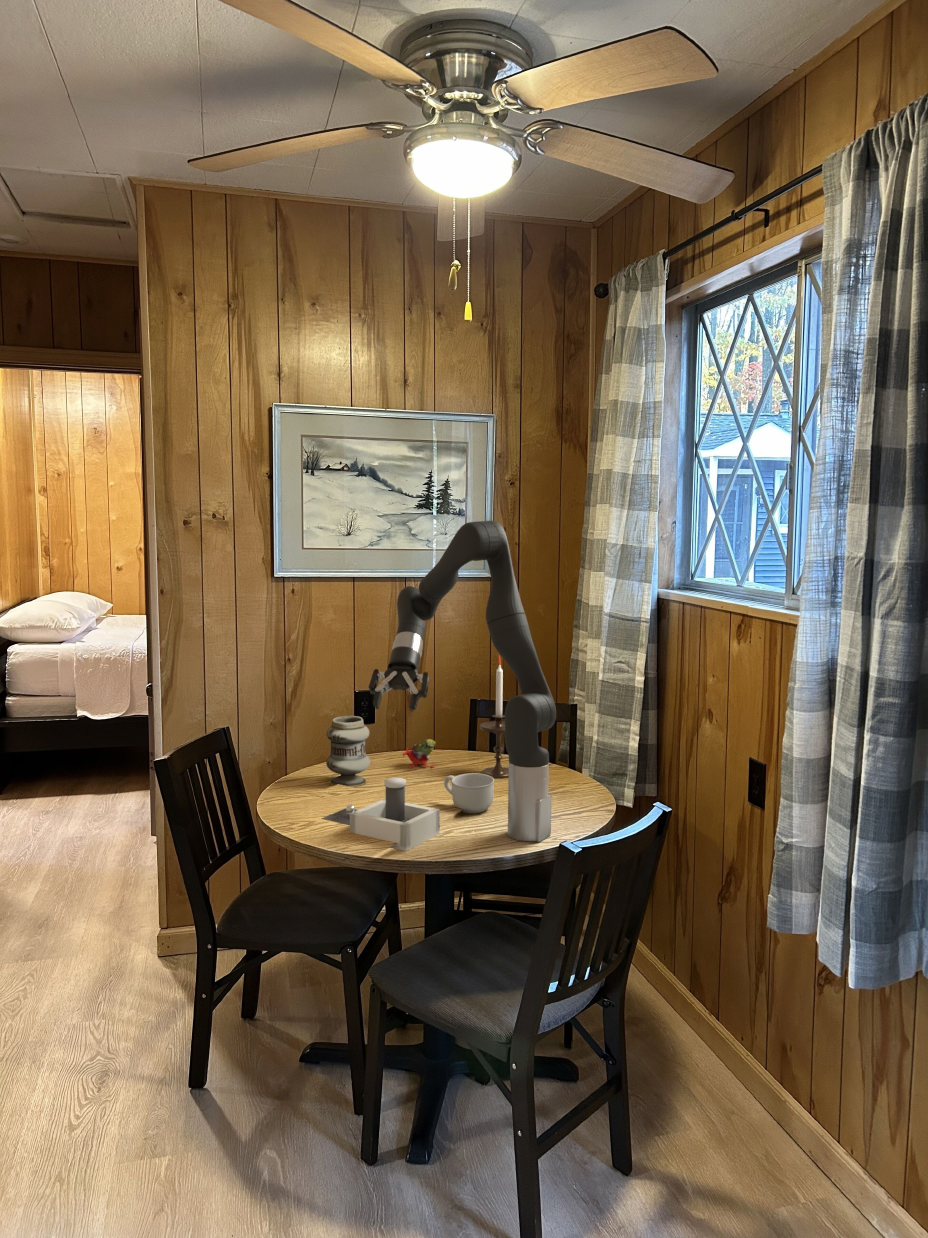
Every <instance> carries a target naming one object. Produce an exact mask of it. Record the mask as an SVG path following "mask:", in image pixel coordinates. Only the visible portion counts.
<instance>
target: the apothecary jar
mask: <svg viewBox="0 0 928 1238" xmlns="http://www.w3.org/2000/svg"><path fill="white" fill-rule="evenodd" d="M331 722H332V723H331V725H330V727H329V728H327V730H326V737H327V739H328V740H330V755H329V756H328V757H327V759H326V762H325V763H326V767H327V768H328V770H330V771H331V772H333V773H335V774H338V776H335V777H333V778H332V779H330V782H329V783H330V784H331V785H332V786H337V785H339V786H345V787H350V788H356V787H360V786H364V785H365V784H366V783H367V780H366V779H365V778H364V777H362V776H360V775H358V774H360V773H363V772H365V771H366V770H367V769H368V768H369V766H371V765H370V764H371V760H370V756H368V755H367V754H366V753H367V752H366V739H368V738H369V736H370V729H369V727H368V726H366V725H365V723H364V718H363V717H361V716H358V715H357V716H356V715H344V716H337V717H335V718H333V719H332V721H331Z"/></svg>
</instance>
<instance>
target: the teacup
mask: <svg viewBox="0 0 928 1238" xmlns="http://www.w3.org/2000/svg"><path fill="white" fill-rule="evenodd" d="M449 781H451V785H450V782H449ZM443 783H444V788H445V789H446V791H447V792H448V793H449V794H450V795H451V796H452V802H453V805H455V807H456V808H458V809H462V810H461V811H462V813H467V814H479V813H483V812H486V811H487V810H488V808H490V807H491V806H492V804H493V803H494V796H495V794H494V793H495V785H494V784H495V778H493V777H491V776H489V775H485V774H483V773H479V772H478V773H475V772H474V773H473V772H471V773H469V772H468V773H462V774H458V775H455V776H454V775H448V776H446V777H445V779H444V780H443Z"/></svg>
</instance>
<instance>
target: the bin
mask: <svg viewBox="0 0 928 1238" xmlns="http://www.w3.org/2000/svg"><path fill="white" fill-rule="evenodd" d="M356 810H357V811H355V812H353V813H350V825H349V833H351V834H356V835H361V836H364V837H369V838H373V839H379V840H382V841H383V840H384V841H387V842H391V843H395V844H393V845H391V846H389V847H388V848H391V849H395V850H399V851H403V852H407V851H409V850H411V849H413V848H415V847H417V846H419V845H421V844H423V843H425V842H427V841H429V840H430V839H432V838H435V837H437V836H438V835H440V833H441V832H440V825H441V823H440V822H441V820H440V819H441V817H440V816H441V815H440V814H441V813H440V812H441V810H440V809H439V808H433V807H429V806H425V805H419V804H413V803H408V802H405V817H408V818H410V820H409V821H406V822H400V821H395V820H390V819H386V798H384V799H381V800H378V801H377V802H374V803H371V804H369V805H367V806H364V807H362V808H360V809H356Z"/></svg>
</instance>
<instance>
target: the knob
mask: <svg viewBox="0 0 928 1238" xmlns="http://www.w3.org/2000/svg"><path fill="white" fill-rule="evenodd" d="M383 784H384V785H383V786H384V788H385V799H386V819H390V820H395V821H400V822H406V821H409V820H410V818H408V817H405V803H406V802H405V801H406V800H405V799H406V793H405V792H406V787H407V780H406V779H405V778H402V777H388V778H386V779H384V783H383Z"/></svg>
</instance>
